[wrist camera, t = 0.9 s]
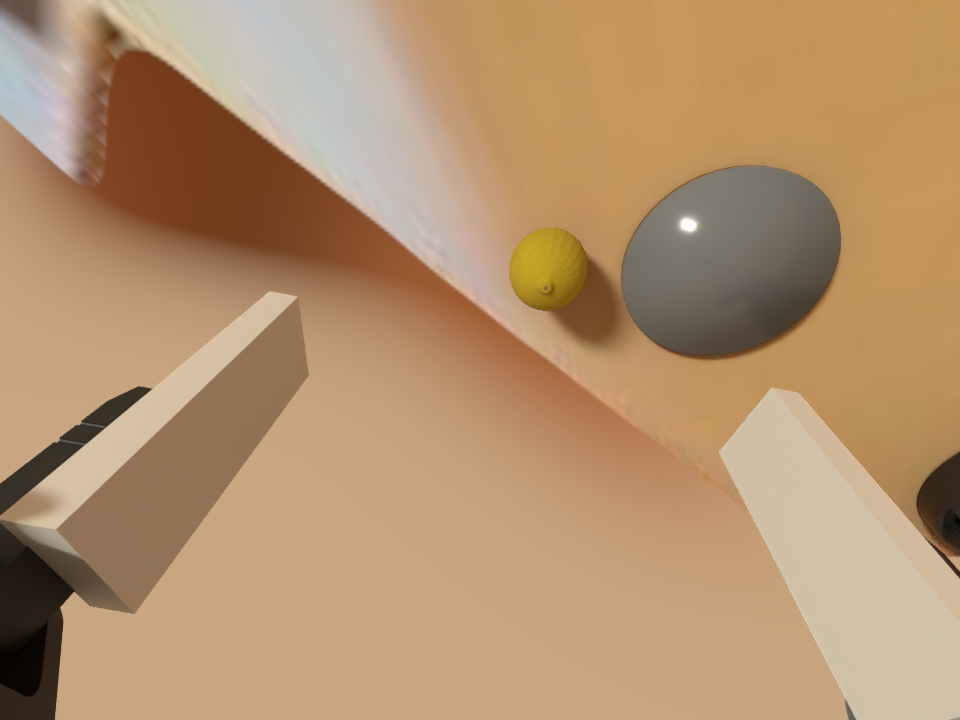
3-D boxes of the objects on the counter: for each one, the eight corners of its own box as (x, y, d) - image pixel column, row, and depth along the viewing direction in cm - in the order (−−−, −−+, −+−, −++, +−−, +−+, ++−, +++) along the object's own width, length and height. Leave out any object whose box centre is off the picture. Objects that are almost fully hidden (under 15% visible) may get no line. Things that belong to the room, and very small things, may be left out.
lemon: (578, 290, 32) (580, 333, 26) (512, 281, 33) (497, 321, 26) (593, 222, 29) (600, 250, 23) (520, 214, 30) (506, 238, 23)
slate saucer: (886, 215, 26) (896, 218, 25) (737, 374, 33) (742, 380, 32) (694, 130, 25) (698, 130, 24) (588, 309, 33) (589, 314, 32)
